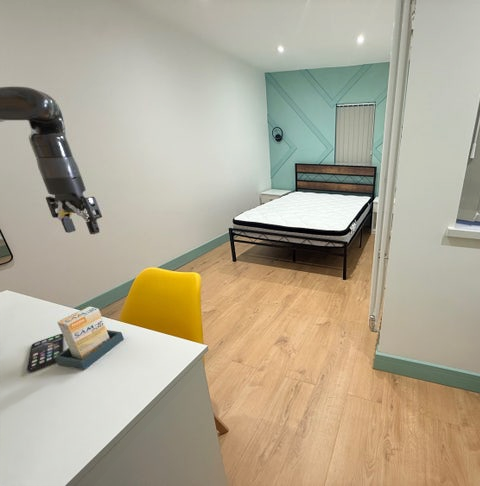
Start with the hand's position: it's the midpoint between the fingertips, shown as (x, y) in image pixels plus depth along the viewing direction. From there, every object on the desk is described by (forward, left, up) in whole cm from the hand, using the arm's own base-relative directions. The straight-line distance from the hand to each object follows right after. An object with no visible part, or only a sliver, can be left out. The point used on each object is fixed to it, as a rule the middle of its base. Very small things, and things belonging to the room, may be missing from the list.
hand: (83, 232), depth 75 cm
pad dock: (-1, -9, -36) cm, 37 cm away
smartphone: (-15, -11, -36) cm, 41 cm away
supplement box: (-1, -8, -36) cm, 37 cm away
